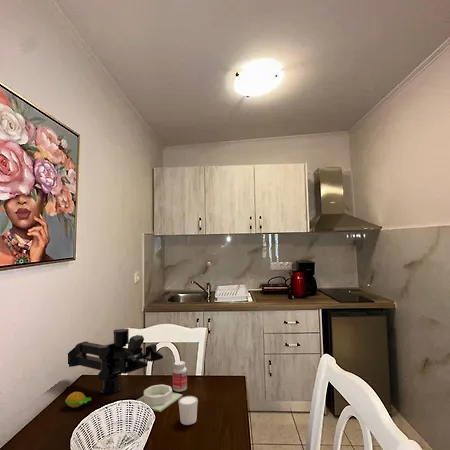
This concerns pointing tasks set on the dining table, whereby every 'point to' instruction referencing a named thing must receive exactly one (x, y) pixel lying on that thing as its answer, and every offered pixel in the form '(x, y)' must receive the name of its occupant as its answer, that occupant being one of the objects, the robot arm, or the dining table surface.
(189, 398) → the shot glass
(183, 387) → the pill bottle
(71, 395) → the toy pineapple
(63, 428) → the dining table surface
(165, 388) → the octagonal tray
